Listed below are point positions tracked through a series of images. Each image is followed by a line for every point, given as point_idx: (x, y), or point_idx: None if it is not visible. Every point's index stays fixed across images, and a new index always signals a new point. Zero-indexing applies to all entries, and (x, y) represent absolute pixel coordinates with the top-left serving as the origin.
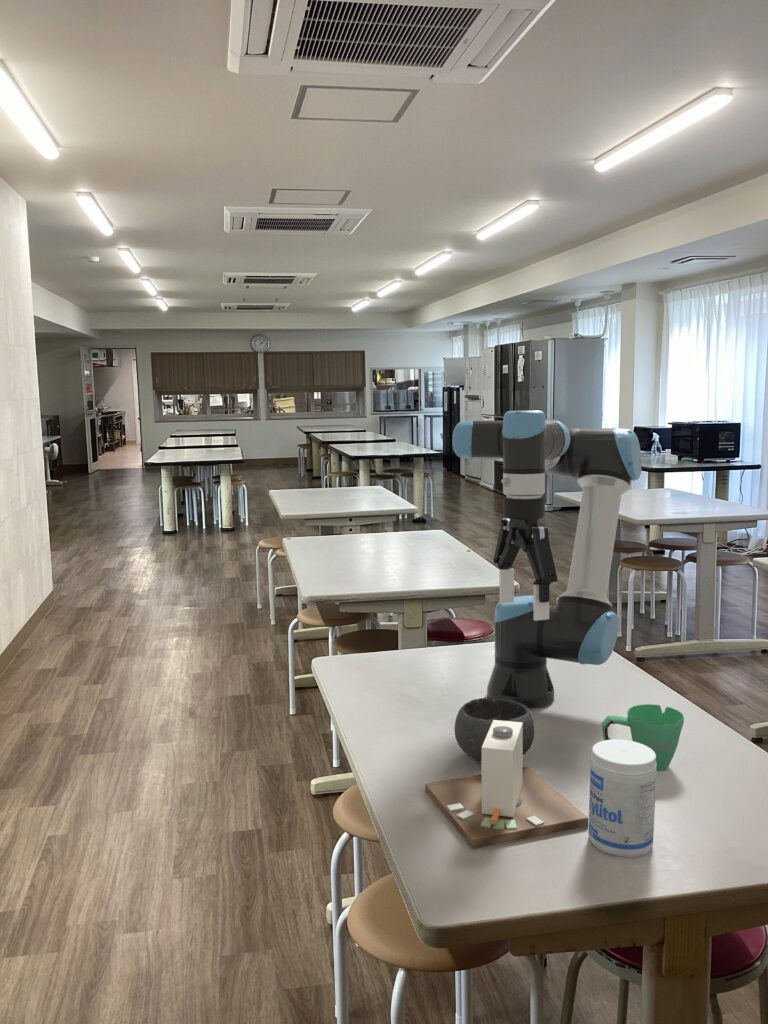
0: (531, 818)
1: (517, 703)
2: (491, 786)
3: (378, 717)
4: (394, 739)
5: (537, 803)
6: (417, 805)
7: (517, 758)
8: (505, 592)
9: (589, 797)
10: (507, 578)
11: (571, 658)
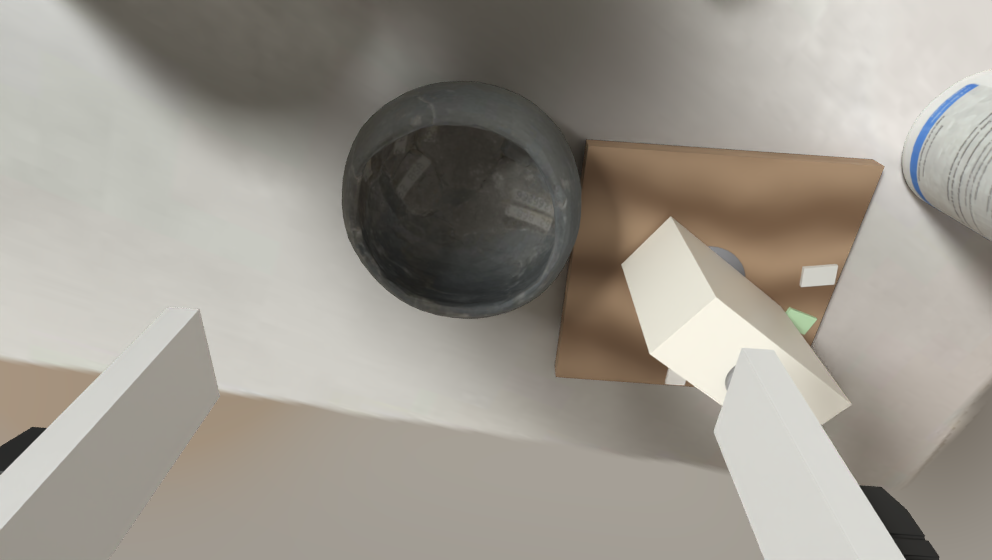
0: (808, 278)
1: (428, 126)
2: None
3: (135, 307)
4: (282, 323)
5: (760, 230)
6: (596, 394)
7: (773, 325)
8: (169, 429)
9: (979, 233)
10: (81, 521)
11: None
